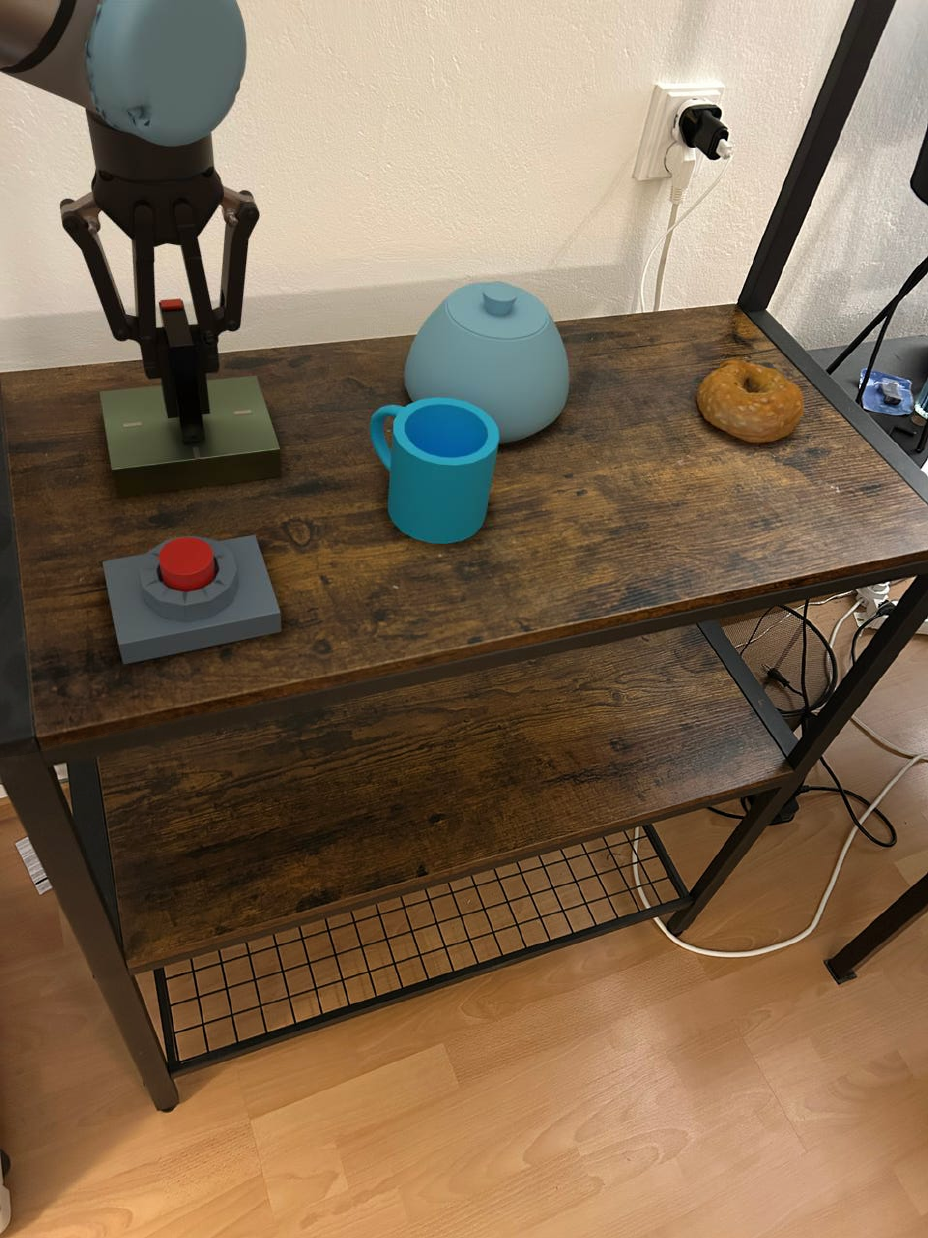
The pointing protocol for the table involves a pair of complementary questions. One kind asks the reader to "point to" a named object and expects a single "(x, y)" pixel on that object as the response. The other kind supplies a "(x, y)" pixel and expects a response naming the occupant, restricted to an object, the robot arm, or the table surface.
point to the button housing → (191, 602)
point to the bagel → (750, 401)
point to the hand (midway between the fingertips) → (186, 405)
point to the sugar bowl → (492, 357)
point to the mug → (437, 467)
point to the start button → (187, 564)
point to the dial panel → (163, 463)
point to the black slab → (183, 369)
